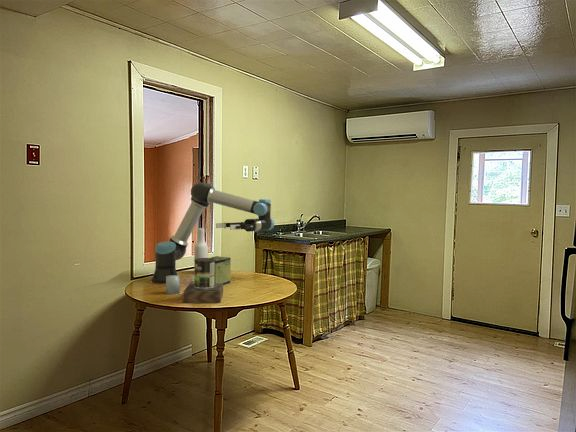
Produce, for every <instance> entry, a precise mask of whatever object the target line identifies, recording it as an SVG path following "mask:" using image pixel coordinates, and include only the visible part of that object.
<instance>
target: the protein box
mask: <svg viewBox="0 0 576 432" xmlns="http://www.w3.org/2000/svg"><path fill="white" fill-rule="evenodd" d="M210 258H212V259H215V265H214V284H223V286H224V285H227V284H230V283H231V257H227V256H226V257H225V256H217V255H216V256H211V257H210Z"/></svg>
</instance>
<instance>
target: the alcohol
mask: <svg viewBox="0 0 576 432" xmlns="http://www.w3.org/2000/svg"><path fill="white" fill-rule="evenodd" d="M197 233H198V235H197V242H196V244H195V246H194V259H197V258H209V246H208V244H207V242H206V239H205V238H206V235H205V228H202V227H200V228H198V232H197ZM193 261H194V260H193ZM194 266H195V261H194ZM194 266H193V267H194Z"/></svg>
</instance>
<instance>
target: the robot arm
mask: <svg viewBox="0 0 576 432" xmlns="http://www.w3.org/2000/svg"><path fill="white" fill-rule="evenodd" d="M190 196H191V197H190V202H191V203H190V205H189V206H188V209H187V210H186V212H185V214H184V216H183V218H182V220H181V222H180V224H179V226H178V228H177V230H176V231H175V234H174V235H172V236H170V238H169V239H168V241H167V240H166V241H160V242H158V243H156V245H155V248H154V250H155V255H154V256H155V270H154V273H153V274H152V275H153V276H152V278H151V279H152V282H153V283H154V284H165V285H166V276H169V275H179V274H178V272H177V269H176V261H178V260H180V259H182V258H183V257H184V256H185V255H186V252H187V247H188V245H189V244H188V240H189V238H190V236H191V234H192V232H193V231H194V228H195V226H196V225H197V223H198V221H199V220H200V218H201V215H202V214H203V212H204V209H206V208H208V207H209V205H210V203H213V204H216V205H220V206H224V207H227V208H231V209H235V210H239V211H243V212H247V213H250V214H253V215H256V216H258V218H246V219H245V220H244V221H241V222H237V221H236V222H218V223H217V222H216V223H215V229H223V228H224V229H227V228H229V230H230V231H233V230H238V231H239V230H245V231H246V232H248V233H249V232H254V233H257V232H262V231H264V232H265V231H271V230H273V229H274V228H275V221H274V219H273V218H271V210H272V209H271V208H272V203H271V201H272V200H271V199H267V198H264V199H263V198H259V199H258V201H257V200H253V199H249V198H245V197H243V196H238V195H235V194H231V193H227V192H223V191H220V190H216V188H215V187H214V185H212V183H211V184H210V183H208V182H197V183H194V184H193V185H192V186H191V188H190Z"/></svg>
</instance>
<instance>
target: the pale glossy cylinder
mask: <svg viewBox="0 0 576 432" xmlns="http://www.w3.org/2000/svg"><path fill="white" fill-rule="evenodd" d="M180 281H181V280H180V275H179V274H178V275H169V276H166V283H165V294H166V295H178V294H180V286H181V285H180V283H181V282H180Z"/></svg>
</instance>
